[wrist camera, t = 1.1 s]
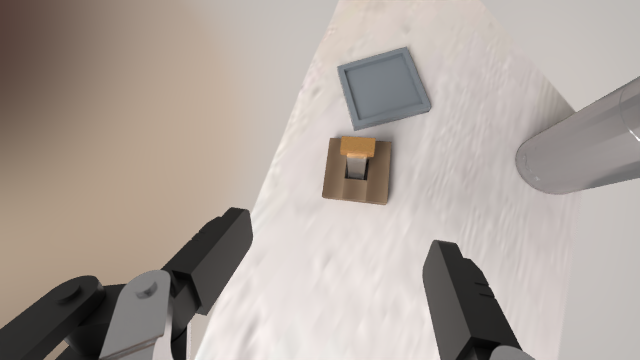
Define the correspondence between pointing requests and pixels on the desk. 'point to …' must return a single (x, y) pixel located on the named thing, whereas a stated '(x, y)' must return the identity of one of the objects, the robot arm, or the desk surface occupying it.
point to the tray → (382, 89)
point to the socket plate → (352, 188)
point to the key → (357, 154)
